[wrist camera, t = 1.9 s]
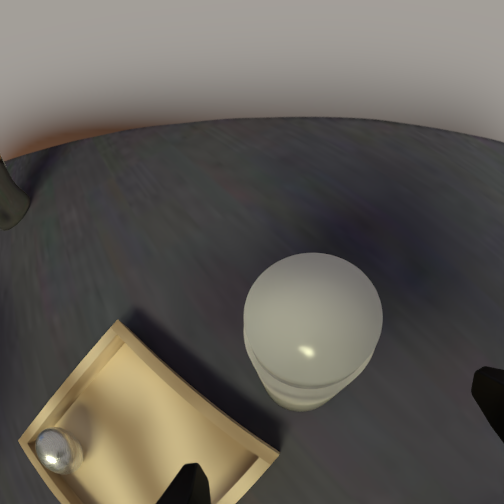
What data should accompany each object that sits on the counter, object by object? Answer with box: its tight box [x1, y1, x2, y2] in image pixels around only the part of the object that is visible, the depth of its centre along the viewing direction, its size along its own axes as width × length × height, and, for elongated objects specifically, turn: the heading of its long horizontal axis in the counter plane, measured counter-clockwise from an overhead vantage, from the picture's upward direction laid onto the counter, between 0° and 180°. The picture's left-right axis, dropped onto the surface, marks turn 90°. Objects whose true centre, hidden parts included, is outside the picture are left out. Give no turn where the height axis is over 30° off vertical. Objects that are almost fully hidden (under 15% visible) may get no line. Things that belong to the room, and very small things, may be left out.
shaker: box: [244, 253, 383, 412], centre depth 14 cm, size 5×5×11 cm
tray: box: [18, 320, 280, 504], centre depth 16 cm, size 14×14×2 cm
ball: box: [35, 427, 83, 475], centre depth 15 cm, size 4×4×4 cm
